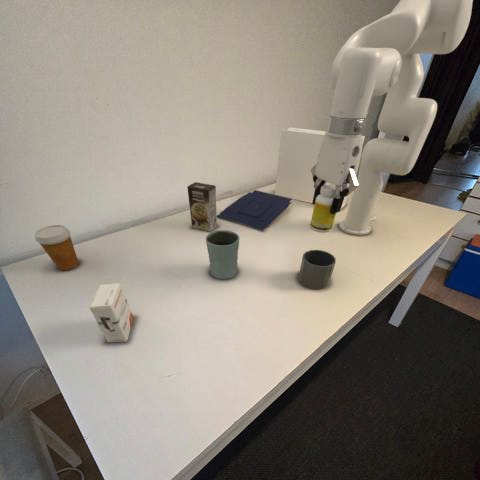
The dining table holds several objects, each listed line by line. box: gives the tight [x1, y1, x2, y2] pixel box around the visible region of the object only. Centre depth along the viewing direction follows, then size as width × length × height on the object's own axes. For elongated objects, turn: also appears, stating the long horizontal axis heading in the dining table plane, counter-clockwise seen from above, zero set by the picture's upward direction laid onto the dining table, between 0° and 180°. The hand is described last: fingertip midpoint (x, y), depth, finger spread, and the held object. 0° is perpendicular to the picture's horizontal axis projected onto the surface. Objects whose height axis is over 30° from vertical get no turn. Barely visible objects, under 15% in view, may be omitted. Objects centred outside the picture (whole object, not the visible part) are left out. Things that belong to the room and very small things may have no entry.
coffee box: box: [187, 181, 218, 233], centre depth 104 cm, size 9×6×16 cm
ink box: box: [89, 282, 134, 343], centre depth 63 cm, size 9×5×12 cm, turn 5°
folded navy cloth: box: [217, 189, 293, 232], centre depth 119 cm, size 24×30×4 cm
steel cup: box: [298, 249, 337, 290], centre depth 81 cm, size 10×10×8 cm
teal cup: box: [205, 229, 240, 280], centre depth 82 cm, size 10×10×12 cm
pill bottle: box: [309, 185, 337, 234], centre depth 71 cm, size 6×6×11 cm
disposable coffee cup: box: [34, 224, 80, 271], centre depth 83 cm, size 10×10×12 cm
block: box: [274, 126, 366, 210], centre depth 124 cm, size 35×8×28 cm, turn 57°
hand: (325, 207), depth 71 cm, fingers closed on pill bottle, 6 cm apart
